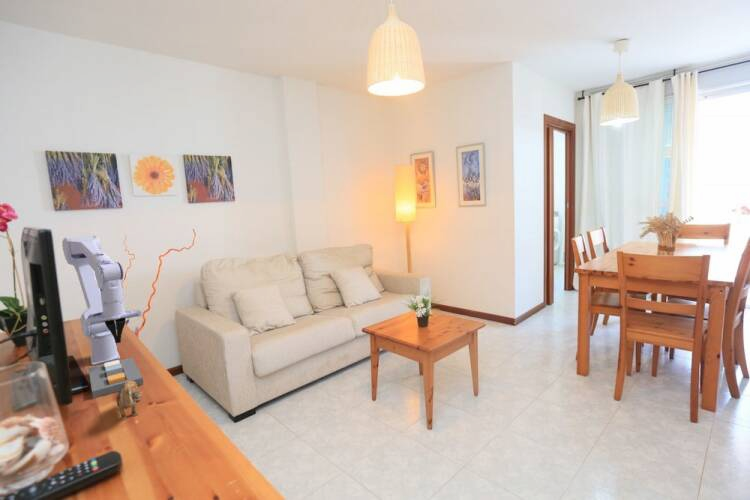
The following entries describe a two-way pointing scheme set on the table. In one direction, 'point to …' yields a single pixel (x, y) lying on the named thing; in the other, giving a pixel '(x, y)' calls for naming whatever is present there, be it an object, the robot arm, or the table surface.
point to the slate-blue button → (114, 370)
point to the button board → (101, 383)
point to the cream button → (111, 363)
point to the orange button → (116, 378)
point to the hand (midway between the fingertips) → (117, 342)
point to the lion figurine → (128, 398)
